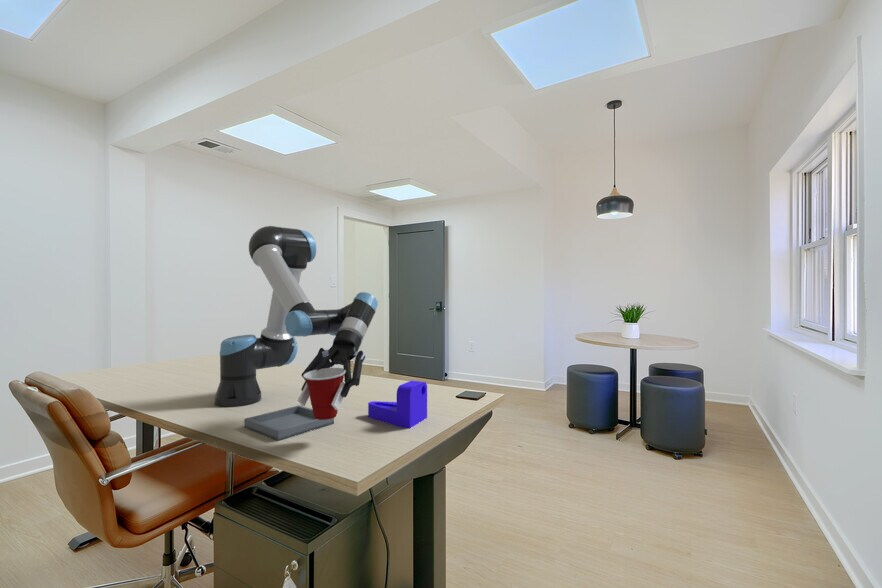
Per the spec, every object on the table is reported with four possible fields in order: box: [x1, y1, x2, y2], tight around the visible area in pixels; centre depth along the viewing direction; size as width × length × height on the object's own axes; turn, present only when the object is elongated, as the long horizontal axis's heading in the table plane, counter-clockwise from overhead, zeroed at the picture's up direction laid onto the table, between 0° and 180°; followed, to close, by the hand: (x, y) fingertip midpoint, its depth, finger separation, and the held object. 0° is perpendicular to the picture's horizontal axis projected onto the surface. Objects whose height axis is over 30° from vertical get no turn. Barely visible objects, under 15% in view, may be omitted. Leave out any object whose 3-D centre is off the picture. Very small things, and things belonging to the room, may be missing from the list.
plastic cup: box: [302, 367, 346, 420], centre depth 107 cm, size 11×11×12 cm
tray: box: [243, 404, 335, 442], centre depth 121 cm, size 18×18×2 cm
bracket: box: [367, 380, 428, 429], centre depth 127 cm, size 18×11×12 cm, turn 65°
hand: (317, 405), depth 104 cm, fingers closed on plastic cup, 9 cm apart
